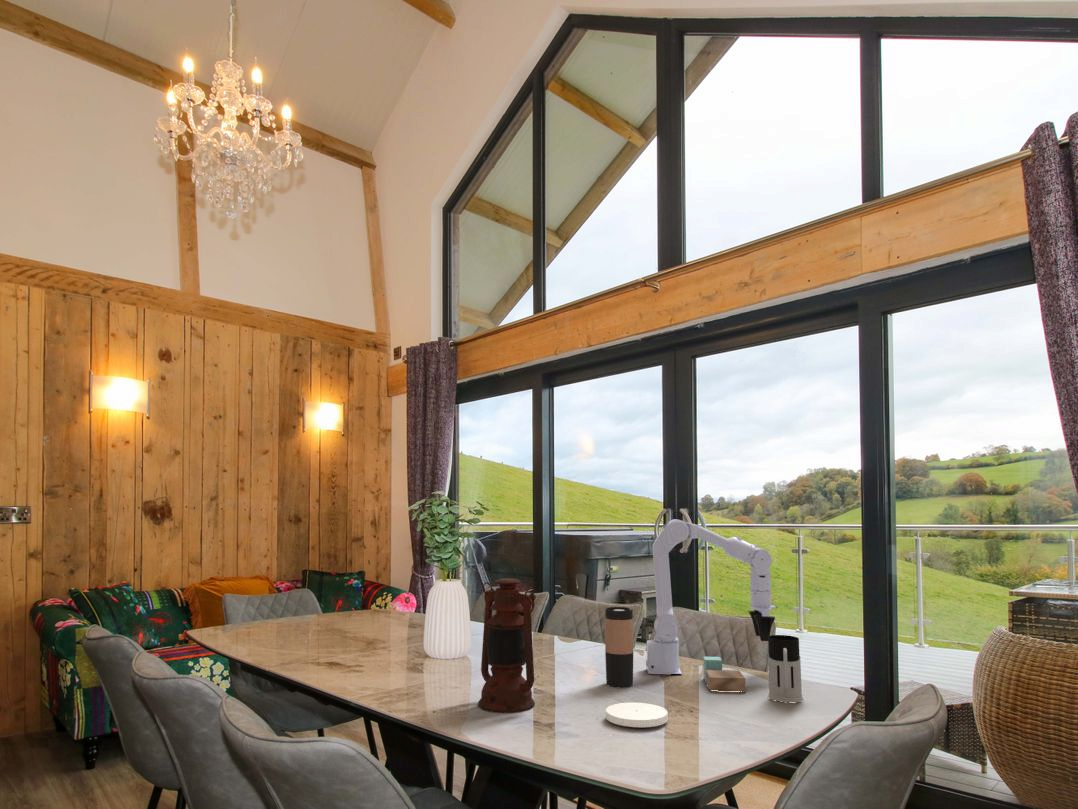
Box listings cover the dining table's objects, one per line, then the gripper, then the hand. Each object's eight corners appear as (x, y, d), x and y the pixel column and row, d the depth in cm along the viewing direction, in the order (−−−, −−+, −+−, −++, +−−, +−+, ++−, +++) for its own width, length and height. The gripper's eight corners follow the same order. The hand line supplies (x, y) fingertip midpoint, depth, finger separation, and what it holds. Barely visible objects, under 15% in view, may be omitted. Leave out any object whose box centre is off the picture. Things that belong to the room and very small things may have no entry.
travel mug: (601, 685, 200) (600, 609, 202) (611, 679, 206) (611, 606, 209) (627, 689, 196) (627, 611, 199) (637, 683, 203) (636, 608, 205)
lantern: (461, 704, 181) (463, 579, 185) (500, 693, 192) (501, 574, 195) (514, 718, 170) (515, 584, 174) (552, 705, 180) (552, 579, 184)
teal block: (706, 682, 204) (705, 660, 205) (703, 678, 208) (703, 656, 209) (722, 682, 204) (722, 660, 204) (720, 678, 208) (719, 656, 209)
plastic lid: (627, 710, 178) (627, 699, 178) (679, 721, 169) (679, 709, 170) (593, 723, 167) (593, 712, 168) (647, 736, 159) (647, 724, 159)
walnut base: (710, 693, 194) (710, 677, 194) (705, 684, 203) (705, 669, 203) (745, 694, 193) (745, 678, 194) (739, 685, 202) (738, 670, 202)
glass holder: (802, 695, 191) (800, 635, 192) (806, 710, 177) (804, 645, 179) (767, 693, 193) (765, 633, 195) (768, 707, 179) (766, 643, 181)
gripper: (780, 593, 209) (781, 643, 207) (769, 587, 223) (771, 634, 221) (754, 593, 210) (755, 642, 208) (745, 587, 224) (747, 633, 222)
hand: (762, 638), depth 215 cm, fingers open, 7 cm apart
